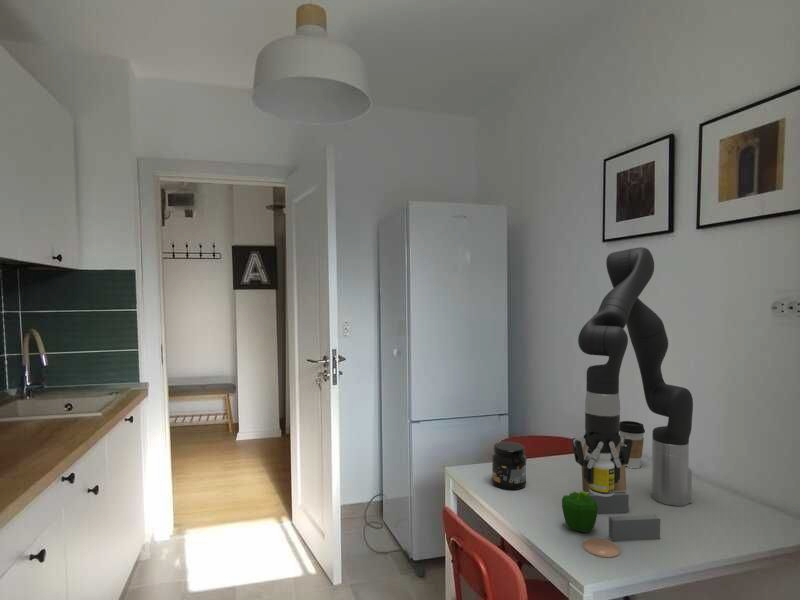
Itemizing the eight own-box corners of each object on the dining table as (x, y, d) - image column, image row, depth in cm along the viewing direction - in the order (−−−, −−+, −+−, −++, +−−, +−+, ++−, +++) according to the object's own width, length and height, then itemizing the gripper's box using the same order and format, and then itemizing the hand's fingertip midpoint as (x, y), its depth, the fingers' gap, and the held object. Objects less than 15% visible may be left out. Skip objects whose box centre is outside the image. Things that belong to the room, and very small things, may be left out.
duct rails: (624, 509, 134) (624, 491, 134) (660, 538, 119) (660, 518, 118) (582, 511, 133) (582, 493, 133) (612, 541, 118) (613, 520, 117)
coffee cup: (621, 469, 165) (622, 425, 164) (614, 460, 173) (615, 418, 173) (648, 470, 163) (648, 426, 163) (640, 462, 172) (640, 419, 171)
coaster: (608, 539, 118) (608, 537, 118) (626, 557, 111) (626, 555, 111) (577, 540, 118) (577, 538, 118) (592, 558, 110) (593, 556, 110)
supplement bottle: (612, 499, 110) (612, 456, 110) (587, 494, 113) (587, 452, 113) (615, 491, 115) (616, 449, 115) (591, 486, 118) (592, 446, 118)
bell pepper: (557, 520, 128) (557, 483, 128) (587, 519, 128) (587, 482, 128) (570, 536, 120) (570, 496, 119) (602, 535, 120) (602, 495, 120)
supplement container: (488, 477, 157) (488, 441, 157) (520, 477, 158) (521, 440, 157) (496, 491, 147) (496, 451, 147) (530, 490, 147) (530, 451, 147)
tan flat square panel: (626, 490, 133) (624, 489, 134) (623, 437, 135) (621, 436, 136) (584, 492, 132) (582, 491, 133) (581, 438, 134) (579, 437, 135)
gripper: (623, 406, 118) (622, 475, 118) (565, 407, 117) (565, 477, 117) (640, 414, 110) (640, 487, 111) (579, 415, 109) (579, 490, 110)
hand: (601, 482), depth 114 cm, fingers closed on supplement bottle, 5 cm apart
